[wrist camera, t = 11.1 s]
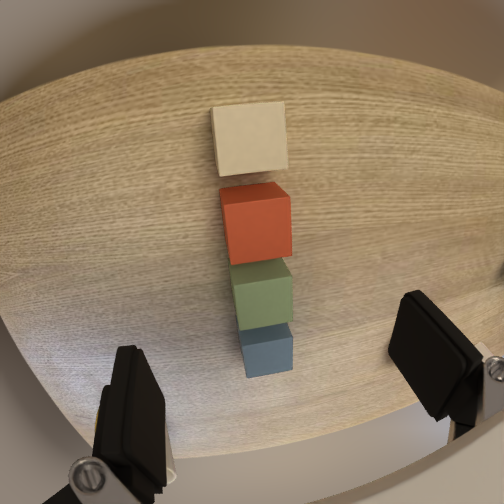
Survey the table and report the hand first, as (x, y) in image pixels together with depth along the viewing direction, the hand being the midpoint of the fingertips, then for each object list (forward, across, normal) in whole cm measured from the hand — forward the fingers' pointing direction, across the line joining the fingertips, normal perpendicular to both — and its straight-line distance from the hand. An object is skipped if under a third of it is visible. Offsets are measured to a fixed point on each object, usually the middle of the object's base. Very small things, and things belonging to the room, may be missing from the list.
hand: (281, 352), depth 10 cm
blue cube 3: (+19, -2, +16) cm, 25 cm away
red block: (+19, -2, +2) cm, 19 cm away
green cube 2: (+19, -2, +9) cm, 21 cm away
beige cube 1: (+19, -2, -5) cm, 20 cm away
